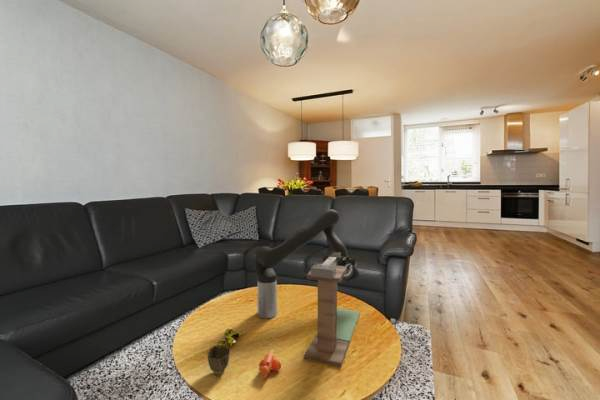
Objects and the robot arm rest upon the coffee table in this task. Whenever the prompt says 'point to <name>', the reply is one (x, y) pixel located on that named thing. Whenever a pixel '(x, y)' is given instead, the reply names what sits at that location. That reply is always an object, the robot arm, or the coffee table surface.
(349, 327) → the mat
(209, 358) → the cup
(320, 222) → the robot arm
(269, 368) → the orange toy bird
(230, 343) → the toy motorcycle
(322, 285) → the stand
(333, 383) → the coffee table surface
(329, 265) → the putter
